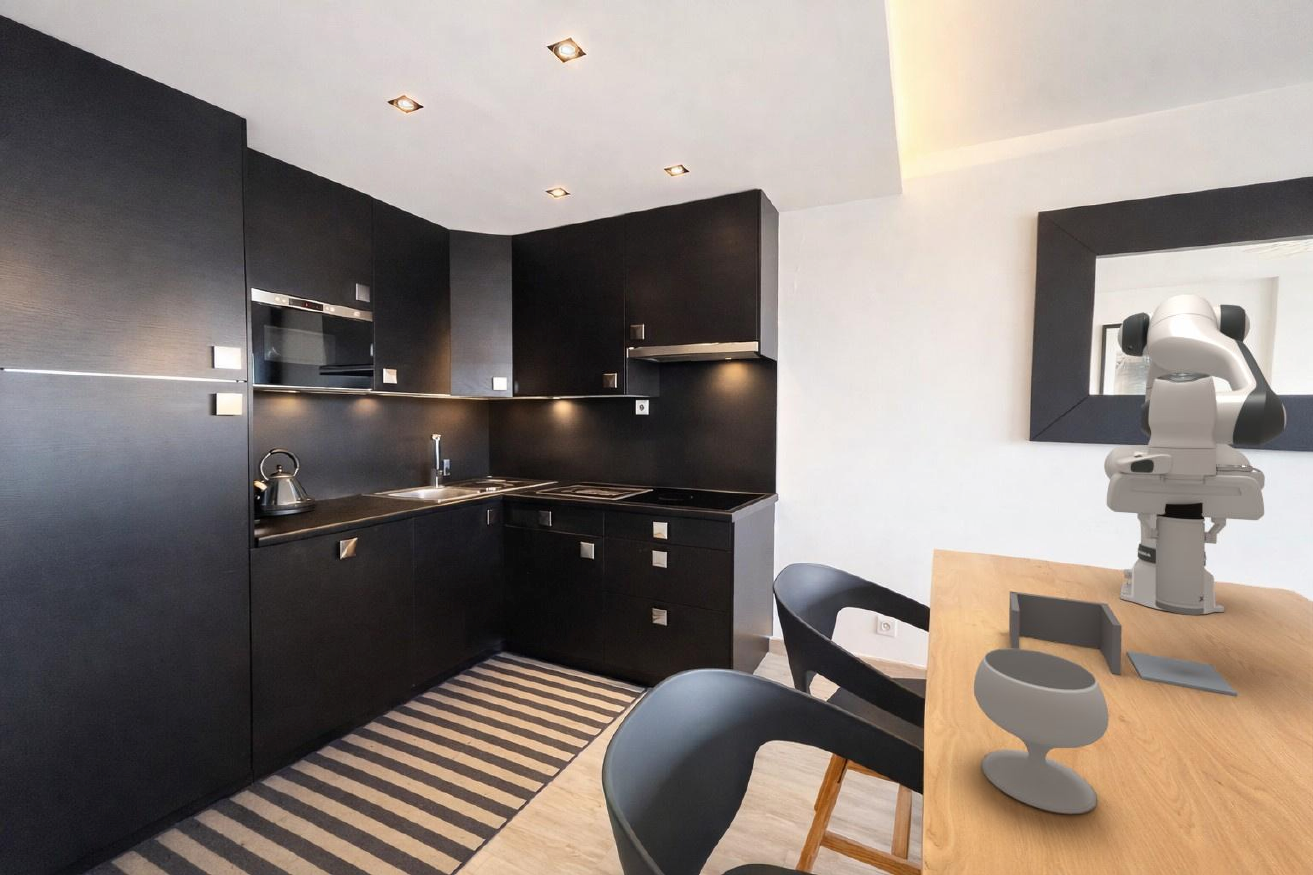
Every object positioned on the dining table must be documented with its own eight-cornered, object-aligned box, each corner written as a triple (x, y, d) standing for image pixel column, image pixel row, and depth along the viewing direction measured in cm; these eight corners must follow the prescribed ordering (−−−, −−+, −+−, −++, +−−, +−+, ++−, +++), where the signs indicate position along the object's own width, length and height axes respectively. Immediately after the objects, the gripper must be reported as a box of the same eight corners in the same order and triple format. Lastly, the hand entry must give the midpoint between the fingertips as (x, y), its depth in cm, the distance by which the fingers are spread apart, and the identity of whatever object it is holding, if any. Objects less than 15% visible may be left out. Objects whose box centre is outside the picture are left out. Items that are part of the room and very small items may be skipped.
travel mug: (1216, 616, 93) (1217, 501, 93) (1171, 614, 95) (1172, 500, 94) (1188, 605, 99) (1190, 496, 99) (1146, 602, 101) (1148, 495, 101)
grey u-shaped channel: (1009, 632, 117) (1009, 591, 117) (1106, 648, 109) (1107, 603, 108) (1011, 655, 106) (1012, 610, 105) (1120, 675, 97) (1121, 625, 97)
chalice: (949, 765, 73) (950, 655, 72) (1016, 739, 79) (1017, 637, 78) (1062, 838, 60) (1064, 706, 60) (1132, 800, 66) (1134, 679, 65)
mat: (1126, 653, 106) (1126, 650, 106) (1211, 667, 100) (1211, 664, 100) (1141, 678, 96) (1141, 676, 96) (1236, 696, 90) (1236, 693, 90)
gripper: (1256, 464, 94) (1254, 543, 94) (1105, 460, 104) (1104, 531, 105) (1273, 467, 88) (1271, 550, 89) (1111, 463, 99) (1110, 538, 100)
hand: (1179, 540), depth 97 cm, fingers closed on travel mug, 6 cm apart
